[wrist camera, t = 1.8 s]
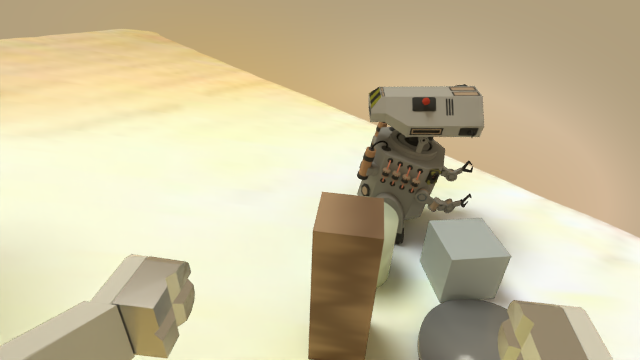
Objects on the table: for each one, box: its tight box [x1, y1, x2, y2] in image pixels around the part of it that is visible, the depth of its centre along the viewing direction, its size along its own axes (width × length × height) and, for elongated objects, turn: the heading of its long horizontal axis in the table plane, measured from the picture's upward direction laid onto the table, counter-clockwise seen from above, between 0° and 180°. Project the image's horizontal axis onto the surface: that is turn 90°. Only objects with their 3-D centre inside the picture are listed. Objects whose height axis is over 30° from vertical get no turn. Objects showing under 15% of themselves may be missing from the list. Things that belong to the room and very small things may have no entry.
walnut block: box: [308, 192, 384, 360], centre depth 27 cm, size 4×4×12 cm
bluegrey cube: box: [420, 218, 511, 302], centre depth 34 cm, size 5×5×5 cm
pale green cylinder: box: [365, 196, 399, 288], centre depth 35 cm, size 6×6×6 cm
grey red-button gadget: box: [357, 84, 484, 244], centre depth 39 cm, size 9×12×15 cm
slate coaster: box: [418, 299, 509, 360], centre depth 29 cm, size 10×10×1 cm
